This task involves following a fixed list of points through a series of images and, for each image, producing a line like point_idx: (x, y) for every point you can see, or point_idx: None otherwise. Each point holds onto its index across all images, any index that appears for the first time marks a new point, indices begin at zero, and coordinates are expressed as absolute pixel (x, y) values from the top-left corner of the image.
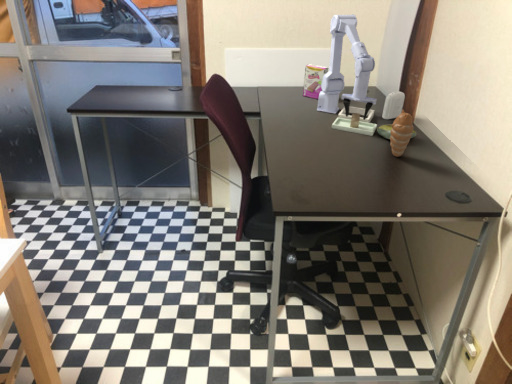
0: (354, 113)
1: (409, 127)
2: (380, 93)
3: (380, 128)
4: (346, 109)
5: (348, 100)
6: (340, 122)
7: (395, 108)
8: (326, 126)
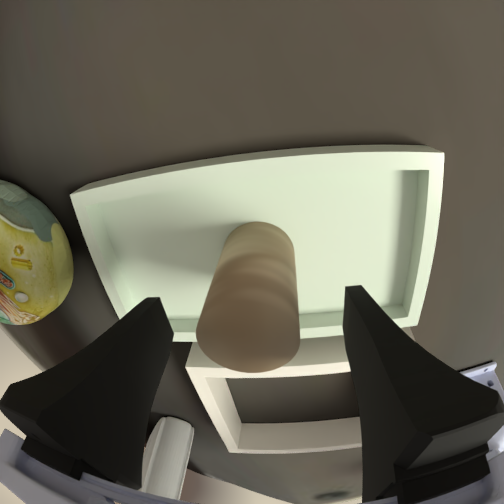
0: (273, 347)
1: None
2: (282, 499)
3: (22, 227)
4: (392, 338)
5: (411, 483)
6: (384, 282)
7: (143, 461)
8: (463, 169)
